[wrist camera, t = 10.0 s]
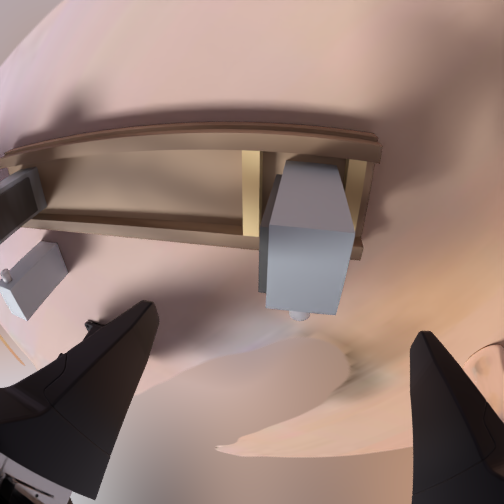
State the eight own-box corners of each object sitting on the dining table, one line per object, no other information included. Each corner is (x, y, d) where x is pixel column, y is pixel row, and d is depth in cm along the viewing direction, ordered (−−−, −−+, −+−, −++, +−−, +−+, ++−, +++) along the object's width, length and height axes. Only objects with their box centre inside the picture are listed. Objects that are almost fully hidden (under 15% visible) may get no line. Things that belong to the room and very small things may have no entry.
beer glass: (505, 332, 22) (541, 446, 10) (505, 359, 25) (532, 457, 12) (455, 359, 26) (478, 478, 13) (462, 382, 28) (479, 482, 16)
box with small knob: (54, 234, 25) (5, 280, 19) (68, 273, 28) (27, 321, 22) (36, 232, 26) (-11, 275, 19) (50, 269, 29) (10, 313, 22)
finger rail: (355, 244, 20) (372, 346, 13) (30, 217, 25) (-26, 266, 17) (373, 133, 16) (428, 187, 8) (12, 148, 20) (-56, 188, 13)
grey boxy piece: (336, 165, 16) (355, 233, 10) (326, 239, 19) (330, 331, 13) (279, 159, 17) (257, 223, 10) (276, 234, 20) (256, 324, 13)
